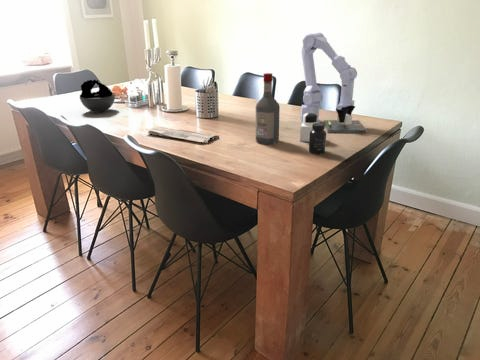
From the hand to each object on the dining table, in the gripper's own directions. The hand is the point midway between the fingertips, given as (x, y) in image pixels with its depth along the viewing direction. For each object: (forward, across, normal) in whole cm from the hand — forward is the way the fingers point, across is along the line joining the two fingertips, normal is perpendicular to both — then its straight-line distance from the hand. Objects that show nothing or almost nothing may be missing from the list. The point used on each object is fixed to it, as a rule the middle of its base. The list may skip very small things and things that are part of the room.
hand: (344, 121), depth 195 cm
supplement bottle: (+4, -40, -8) cm, 41 cm away
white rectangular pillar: (+2, 0, 0) cm, 2 cm away
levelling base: (+3, 0, 0) cm, 3 cm away
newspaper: (+4, -61, +54) cm, 81 cm away
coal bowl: (+4, -56, +132) cm, 144 cm away
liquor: (+4, -41, +17) cm, 45 cm away
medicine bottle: (+4, -27, +4) cm, 28 cm away
